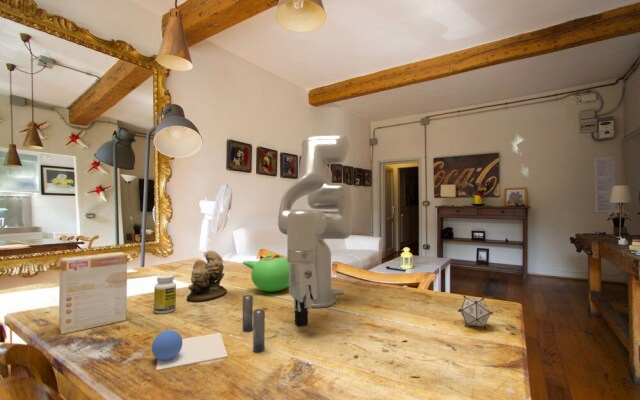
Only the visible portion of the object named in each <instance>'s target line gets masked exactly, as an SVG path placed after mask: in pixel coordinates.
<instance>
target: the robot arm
mask: <svg viewBox="0 0 640 400" xmlns="http://www.w3.org/2000/svg"><path fill="white" fill-rule="evenodd" d="M348 139H349V138H348V137H347V136H346V135H345V134H342V133H341V134H322V135H321V134H319V135H318V134H317V135H309V136H307V137H304V139H303V140H302V141H301V155H300V163H299V170H298V171H299V172H298V178H297V179H296V180H295V181H294V182H293V183H292V184H291V185H290V186H289V187H288V188H287V189H286V191H285V192H284V194H283V196H282V197H281V199H280V203H279V210H278V215H277V216H278V217H277V225H278V230H279V232H280V233H281V234H284V235H286V236H287V241H286V242H287V246H286V247H287V253H286V254H287V257H286V258H287V262H288V263H290V265H289V286H288V293H289V295H290V296H291V297H292V298H293V304H294V305H293V306H294V325H295V326H296V327H297V328H301V327H306V326H308V324H309V310H310V309H311V308H319V309H320V308H327V307H331V306H333V305H334V304H336V301H337V300H336V296H343V295H344V294H345V291H344V289H343V288H341V289H338V288H332V252H331V249H330V247H329V245H328V244H327V242H326V241H325V240H328V239H329V240H345V239H348V238H349V237H350V235H351V233H352V223H353V222H352V220H353V219H352V217H353V216H352V215H353V212H352V209H353V208H352V207H353V205H352V204H353V201H352V199H353V198H352V196H353V195H352V189H351V187H350V186H349V185H348V184H347V183H344V182H332V181H333V172H332V169H331V168H329V166H328V165H338V164H339V165H341V164H343V163H344V162H346V161H345V160H346V158H347V156H348V153H349V149H350V143H349V140H348ZM306 195H307V204H308V207H310V208H311V209H292V208H293V205H294V204H295V203H296V202H297V201H298V200H299V199H300V198H302V197H304V196H306ZM322 210H323V211H322ZM325 210H336V211H325Z"/></svg>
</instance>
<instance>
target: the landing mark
mask: <svg viewBox="0 0 640 400" xmlns="http://www.w3.org/2000/svg"><path fill="white" fill-rule="evenodd" d="M228 357H229V356H228V353H227V349H226V347H225V344H224V340H223V337H222V334H221V332H217V333H212V334H211V333H210V334H205V335H198V336H192V337H187V338H182V348H181V350H180V352H179V353H178V355H177V356H175V357H174V358H172V359H170V360H166V361H162V360H159V359H157V362H156V363H157V364H156V369H155V370H156V371H161V370H162V371H163V370H167V369H171V368H172V369H173V368H176V367H181V366H187V365H188V366H189V365H192V364H193V365H194V364H199V363H204V362H209V361H213V360H214V361H215V360H219V359H225V358H228Z"/></svg>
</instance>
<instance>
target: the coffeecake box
mask: <svg viewBox="0 0 640 400" xmlns="http://www.w3.org/2000/svg"><path fill="white" fill-rule="evenodd" d="M127 273H128V254H127V253H125V252H123V251H117V252H108V253H97V254H96V253H95V254H86V255H76V256H75V255H74V256H63V257H60V259H59V289H58V290H59V291H58V292H59V298H58V299H59V301H58V302H59V303H58V305H59V308H58V315H59V316H58V329H59V331H60V334H61V335H65V334H71V333H76V332H78V331H83V330H87V329H92V328H96V327H97V328H98V327H101V326H106V325H110V324H114V323H119V322H124V321H127V316H128V315H127V314H128V313H127V311H128V310H127V308H128V307H127V306H128V304H127V299H128V297H127V296H128V295H127V293H128V292H127V290H128V274H127Z"/></svg>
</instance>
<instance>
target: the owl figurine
mask: <svg viewBox="0 0 640 400" xmlns="http://www.w3.org/2000/svg"><path fill="white" fill-rule="evenodd" d="M205 260H206V261H207V262H206V261H205ZM205 260H201V259H197V260H195V261H194V264H193V266H192V269H191V270H192V271H191V277H190V281H191V283H192V284H189V285H188V288H187V289H188V290H189V291H190V293H189V294H188V295H187V296H186V301H187V302H189V303H195V304H196V303H197V304H198V303H205V302H210V301H214V300H217V299H220V298H222V297H224V296H225V295H226V294H227V288H225V287H224V286H223V285H221V281H222V279H223V278H224V276H225V274H226V273H224V269H225V266H224V264H223V259H222V257H221V256H220V254H219V253H218V252H216V251H214V250H208V251H206V253H205Z"/></svg>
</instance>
